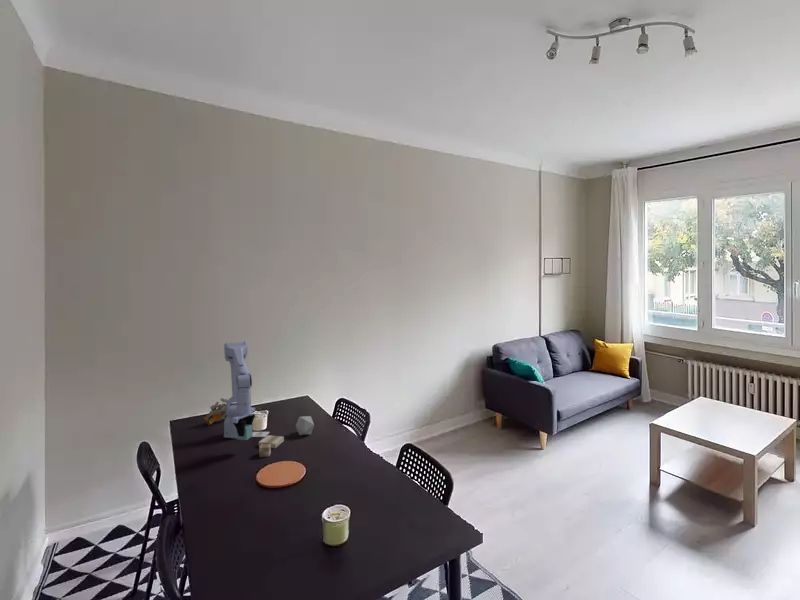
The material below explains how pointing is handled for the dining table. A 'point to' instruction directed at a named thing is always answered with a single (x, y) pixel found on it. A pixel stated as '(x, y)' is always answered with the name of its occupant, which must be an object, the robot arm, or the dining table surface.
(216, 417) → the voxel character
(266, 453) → the block
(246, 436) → the teal cube
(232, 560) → the dining table surface
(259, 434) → the blueprint card
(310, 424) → the die
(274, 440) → the birch slab
